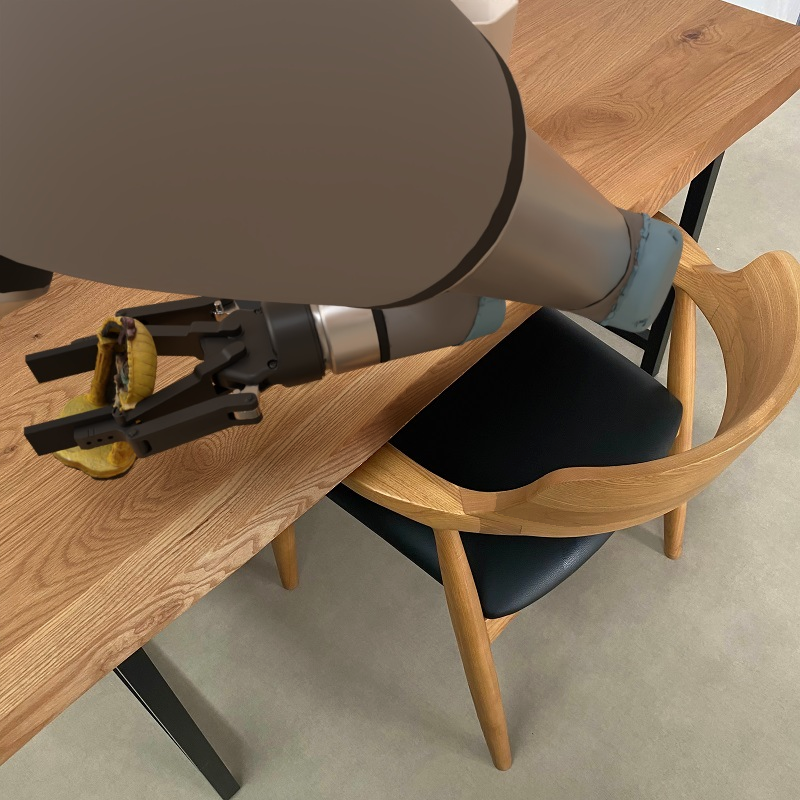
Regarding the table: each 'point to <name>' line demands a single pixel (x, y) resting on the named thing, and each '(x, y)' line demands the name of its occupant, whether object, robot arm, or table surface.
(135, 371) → the yellow ribbed rounded piece
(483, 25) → the cup
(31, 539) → the table surface
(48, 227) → the robot arm
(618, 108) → the table surface
